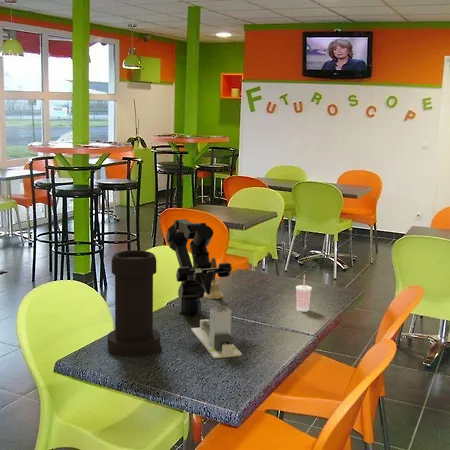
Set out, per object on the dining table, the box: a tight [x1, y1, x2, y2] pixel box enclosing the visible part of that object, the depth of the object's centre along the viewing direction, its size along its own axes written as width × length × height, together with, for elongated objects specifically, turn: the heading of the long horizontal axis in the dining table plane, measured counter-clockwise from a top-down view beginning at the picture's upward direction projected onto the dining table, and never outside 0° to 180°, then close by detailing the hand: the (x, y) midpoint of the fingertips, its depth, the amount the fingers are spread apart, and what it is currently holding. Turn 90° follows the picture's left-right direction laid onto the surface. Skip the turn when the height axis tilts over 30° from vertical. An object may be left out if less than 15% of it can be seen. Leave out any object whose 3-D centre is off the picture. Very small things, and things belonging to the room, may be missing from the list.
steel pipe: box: [203, 322, 227, 347], centre depth 199 cm, size 23×2×2 cm, turn 19°
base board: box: [190, 318, 243, 359], centre depth 199 cm, size 26×9×3 cm, turn 19°
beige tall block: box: [209, 306, 232, 348], centre depth 194 cm, size 5×5×12 cm
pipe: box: [107, 249, 161, 357], centre depth 191 cm, size 16×16×30 cm
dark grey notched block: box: [215, 335, 233, 351], centre depth 191 cm, size 2×5×4 cm, turn 109°
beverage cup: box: [295, 274, 313, 312], centre depth 235 cm, size 6×6×14 cm
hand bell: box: [203, 257, 224, 300], centre depth 249 cm, size 8×8×16 cm
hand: (208, 294), depth 206 cm, fingers closed
